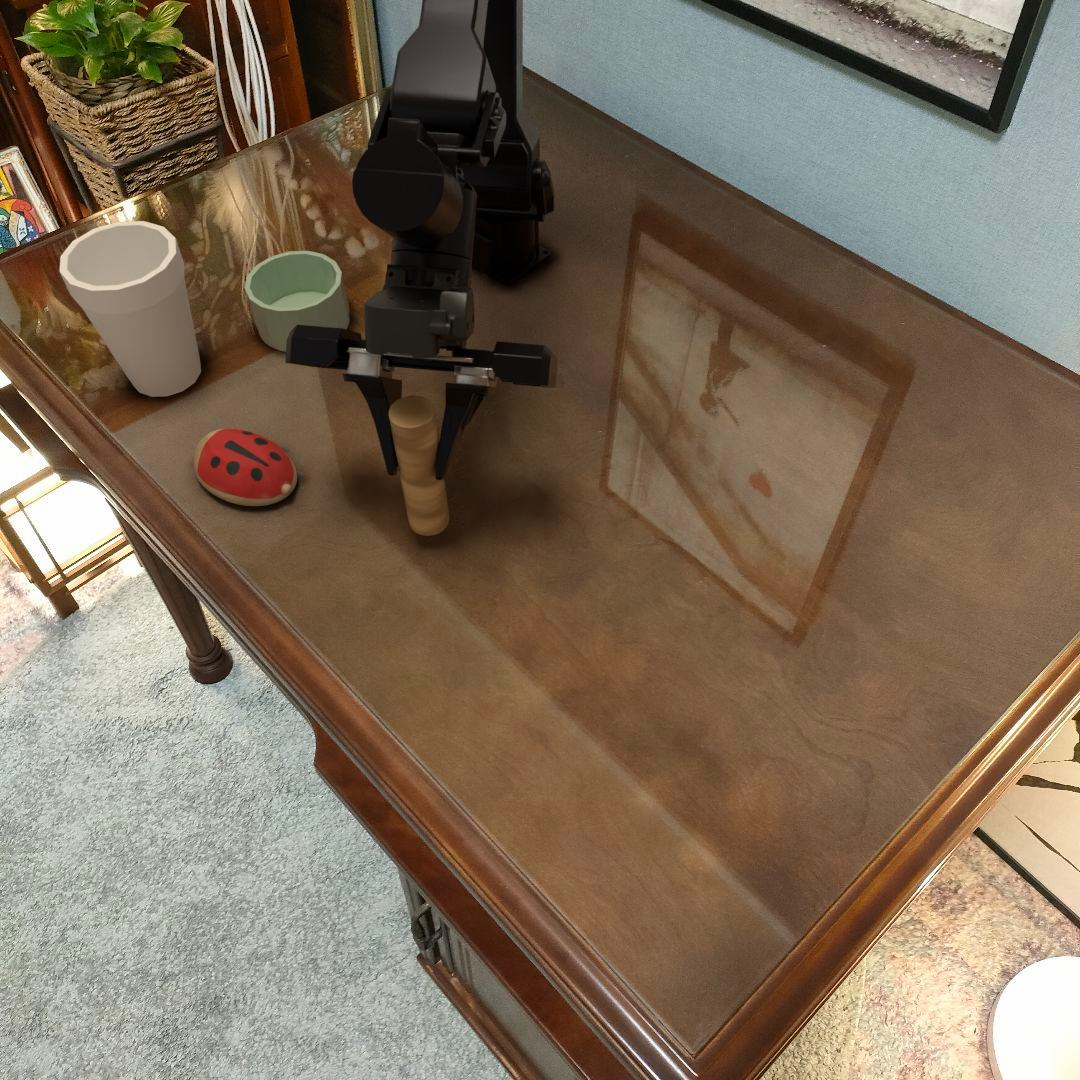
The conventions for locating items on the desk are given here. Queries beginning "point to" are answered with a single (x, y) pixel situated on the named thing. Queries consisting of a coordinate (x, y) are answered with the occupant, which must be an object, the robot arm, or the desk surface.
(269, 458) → the ladybug figurine
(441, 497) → the pestle
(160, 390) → the foam cup
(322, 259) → the celadon cup
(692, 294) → the desk surface
